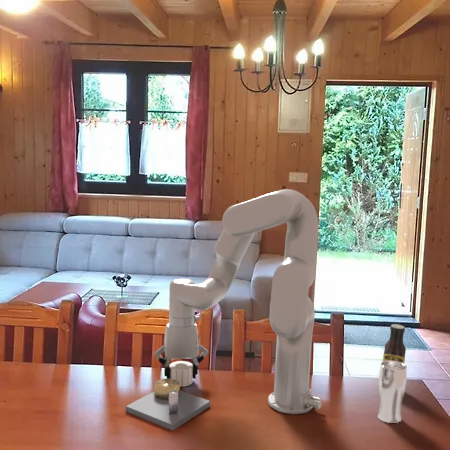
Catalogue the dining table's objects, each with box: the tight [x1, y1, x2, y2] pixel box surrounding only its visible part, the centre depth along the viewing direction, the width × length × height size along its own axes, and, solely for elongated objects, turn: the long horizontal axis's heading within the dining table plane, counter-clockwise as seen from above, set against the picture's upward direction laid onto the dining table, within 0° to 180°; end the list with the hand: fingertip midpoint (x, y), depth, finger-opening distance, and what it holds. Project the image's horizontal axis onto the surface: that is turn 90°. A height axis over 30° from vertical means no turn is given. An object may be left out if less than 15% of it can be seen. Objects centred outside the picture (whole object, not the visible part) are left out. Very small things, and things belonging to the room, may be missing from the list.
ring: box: [169, 360, 194, 388], centre depth 160 cm, size 7×7×5 cm
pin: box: [169, 390, 178, 415], centre depth 139 cm, size 2×2×6 cm
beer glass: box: [377, 360, 408, 424], centre depth 142 cm, size 7×7×15 cm
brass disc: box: [153, 378, 181, 400], centre depth 149 cm, size 7×7×3 cm
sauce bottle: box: [382, 323, 407, 364], centre depth 159 cm, size 6×6×20 cm
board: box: [125, 390, 211, 431], centre depth 144 cm, size 16×16×2 cm
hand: (181, 377), depth 160 cm, fingers closed on ring, 7 cm apart
